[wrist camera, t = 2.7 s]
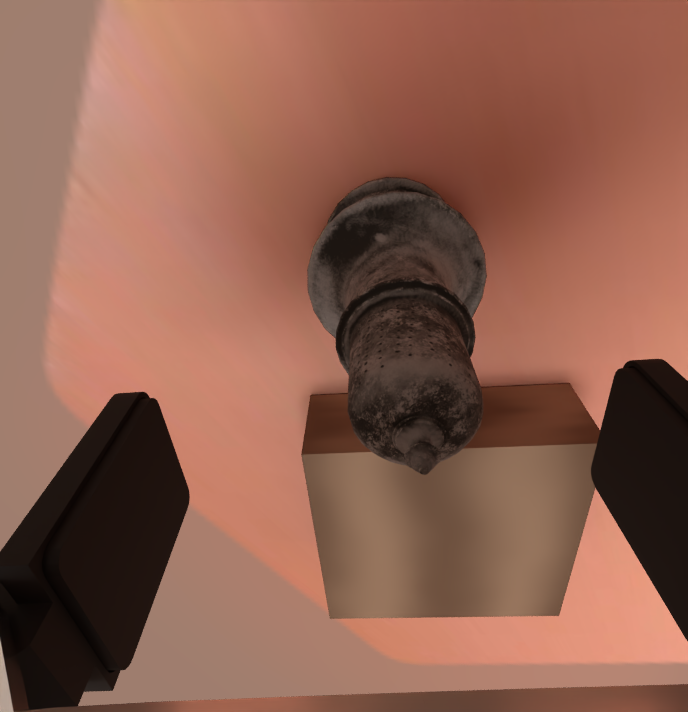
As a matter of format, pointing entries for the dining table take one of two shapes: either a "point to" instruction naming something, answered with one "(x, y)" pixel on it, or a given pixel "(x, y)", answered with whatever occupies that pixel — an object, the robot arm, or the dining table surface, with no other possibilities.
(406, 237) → the salt shaker
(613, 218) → the dining table surface
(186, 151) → the dining table surface
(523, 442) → the brown flat wooden block
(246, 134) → the dining table surface
